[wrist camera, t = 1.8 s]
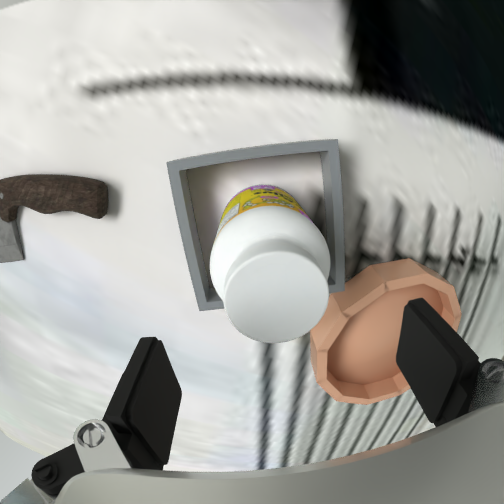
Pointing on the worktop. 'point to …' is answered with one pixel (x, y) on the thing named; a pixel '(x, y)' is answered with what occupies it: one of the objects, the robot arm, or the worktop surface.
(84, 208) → the cleaver
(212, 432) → the worktop surface
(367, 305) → the bowl
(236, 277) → the supplement bottle
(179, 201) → the grey square frame
